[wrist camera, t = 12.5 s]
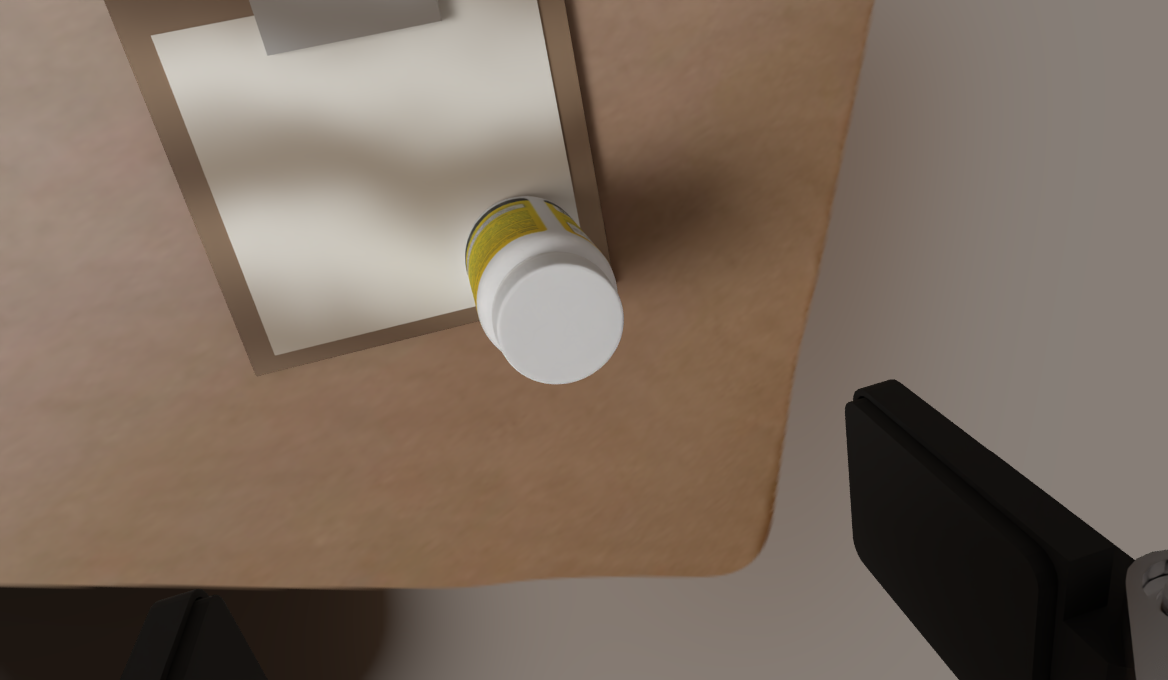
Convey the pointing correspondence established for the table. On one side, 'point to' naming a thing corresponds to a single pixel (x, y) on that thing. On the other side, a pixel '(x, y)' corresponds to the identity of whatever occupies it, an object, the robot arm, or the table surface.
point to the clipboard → (357, 152)
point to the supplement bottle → (543, 290)
